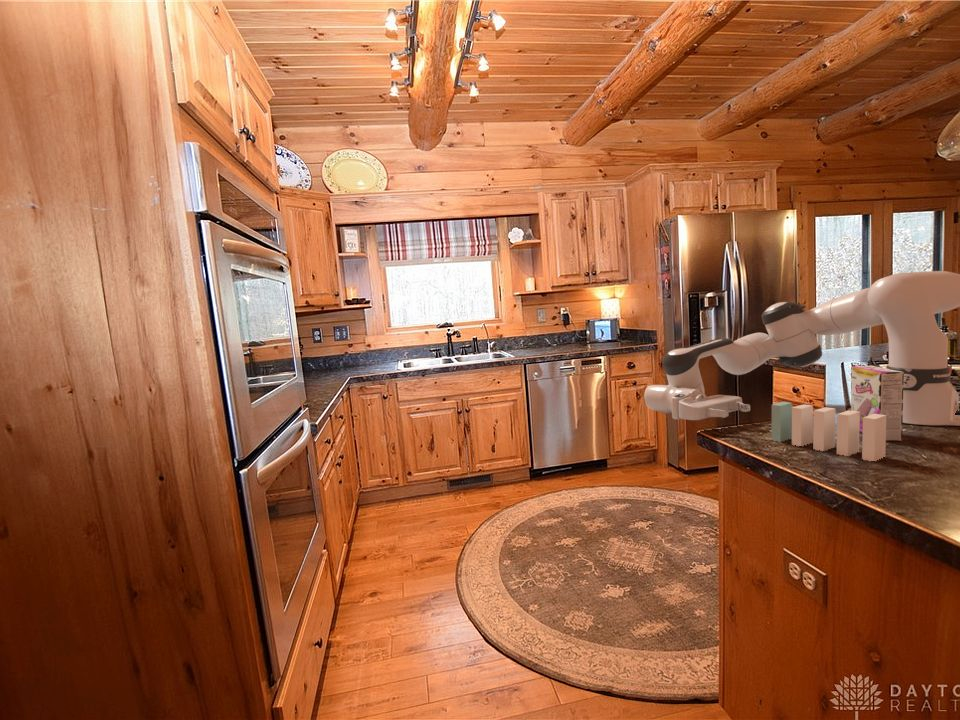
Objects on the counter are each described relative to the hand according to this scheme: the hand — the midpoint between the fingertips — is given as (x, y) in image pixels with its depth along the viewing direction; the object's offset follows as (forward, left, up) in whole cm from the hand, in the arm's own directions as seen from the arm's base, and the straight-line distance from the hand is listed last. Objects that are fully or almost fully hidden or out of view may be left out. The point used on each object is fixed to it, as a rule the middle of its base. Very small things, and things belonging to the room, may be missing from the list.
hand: (738, 411), depth 117 cm
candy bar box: (-19, +22, -6) cm, 30 cm away
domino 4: (0, +24, -5) cm, 25 cm away
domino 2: (0, +15, -5) cm, 16 cm away
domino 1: (0, +11, -5) cm, 12 cm away
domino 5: (0, +29, -5) cm, 29 cm away
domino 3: (0, +20, -5) cm, 21 cm away
